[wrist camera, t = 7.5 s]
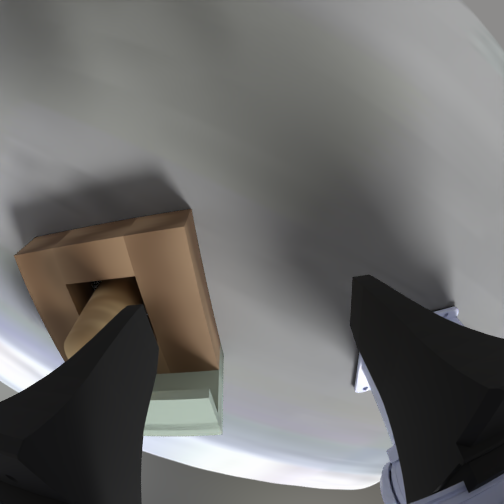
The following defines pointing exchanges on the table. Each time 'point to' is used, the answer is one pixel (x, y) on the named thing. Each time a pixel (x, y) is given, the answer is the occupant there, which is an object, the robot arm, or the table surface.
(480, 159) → the table surface
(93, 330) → the peg
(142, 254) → the socket block
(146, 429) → the pale green grooved slab
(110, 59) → the table surface
